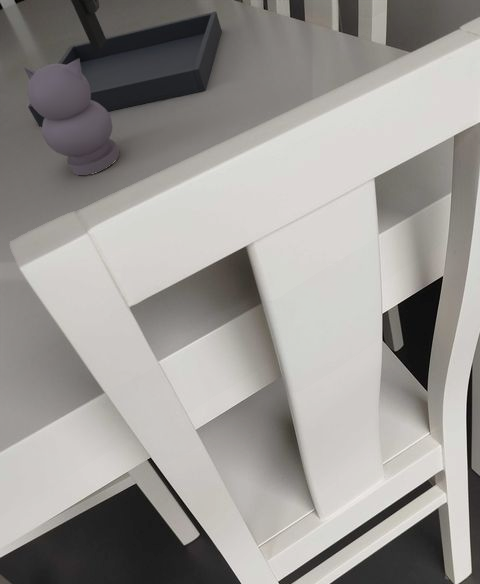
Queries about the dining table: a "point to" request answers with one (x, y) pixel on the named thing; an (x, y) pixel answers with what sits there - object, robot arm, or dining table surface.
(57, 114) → the cat figurine
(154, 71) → the tray
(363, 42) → the dining table surface
